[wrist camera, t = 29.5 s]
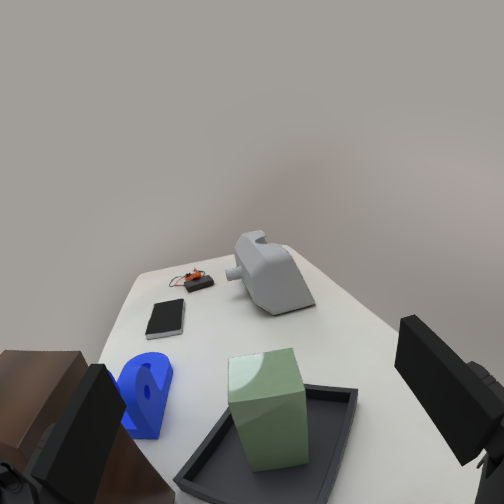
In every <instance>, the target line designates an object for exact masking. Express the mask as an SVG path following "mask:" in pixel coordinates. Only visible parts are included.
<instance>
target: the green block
mask: <svg viewBox="0 0 504 504" xmlns="http://www.w3.org/2000/svg"><path fill="white" fill-rule="evenodd" d="M228 405H229V408H230V411H231V414H232V417H233V420H234V423H235V426H236V429H237V432H238V435H239V438H240V441H241V443H242V446H243V449H244V452H245V455H246V457H247V460H248V463H249V465H250V468H251V471H252V472H258V471H266V470H273V469H280V468H286V467H291V466H297V465H302V464H307V463H309V448H308V427H307V409H306V394H305V388H304V384H303V381H302V378H301V375H300V371H299V368H298V365H297V362H296V358H295V355H294V352H293V349H292V348H288V349H282V350H277V351H271V352H265V353H259V354H253V355H246V356H239V357H232V358H229V359H228Z"/></svg>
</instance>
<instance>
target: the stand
mask: <svg viewBox="0 0 504 504" xmlns="http://www.w3.org/2000/svg"><path fill="white" fill-rule="evenodd" d="M88 368H89V367H88V365H87V363H86V361H85V359H84V357H83V355H82V353H81V351H18V350H17V351H16V350H5V351H3V352H2V354H1V355H0V460H7V461H9V462H10V463H11V464H12V465H13V466H14V467H15V468H16V469H17V470H18V471H19V472H20V473H21V474H22V473H23V471H24V469H25V467H26V465H27V463H28V461H29V459H30V457H31V456H32V454H33V452H34V450H35V448H37V447H36V446H37V444H38V442H39V441H40V439H41V437H42V435H43V433H44V431H45V430H46V429H47V428H48V427H49V426H50V425H51V424H52V423H54V424H56V422H57V421H58V419H59V417H60V415H61V413H62V412H63V410H64V408H65V406H66V405H67V403H68V401H69V399H70V398H71V396H72V394H73V393H74V391H75V389H76V388H77V386H78V384H79V383H80V381H81V379H82V378H83V376H84V374H85V373H86V371H87V369H88ZM174 496H175V492H174V491H173V490H172V489H171V488H170V486H169V485H168V484H167V483H166V482H165V481H164V479H163V478H162V477H161V476H160V475H159V473H158V472H157V471H156V470H155V469H154V467H153V466H152V465H151V464H150V462H149V461H148V460H147V458H146V457H145V456H144V454H143V453H142V452H141V450H140V449H139V448H138V446H137V445H136V444H135V442H134V441H133V439H132V438H131V437H130V435H129V434H128V432H127V431H126V429H125V428H124V426H123V425H122V423H120V426H119V429H118V431H117V434H116V437H115V440H114V443H113V446H112V448H111V451H110V454H109V457H108V460H107V463H106V466H105V469H104V472H103V475H102V479H101V482H100V485H99V488H98V491H97V495H96V498H95V501H94V504H174Z"/></svg>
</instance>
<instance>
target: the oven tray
mask: <svg viewBox="0 0 504 504" xmlns="http://www.w3.org/2000/svg"><path fill="white" fill-rule="evenodd" d="M304 388H305V394H306V409H307V427H308V448H309V463H307V464H302V465H297V466H291V467H286V468H280V469H273V470H266V471H258V472H252V471H251V468H250V465H249V463H248V460H247V457H246V455H245V452H244V449H243V446H242V443H241V441H240V438H239V435H238V432H237V429H236V426H235V423H234V420H233V417H232V414H231V411H230V408H229V407H228V408H227V410H226V411H225V412H224V414H223V415H222V417H221V418H220V419H219V421H218V422H217V423H216V425H215V426H214V427H213V429H212V430H211V431H210V433H209V434H208V435H207V437H206V438H205V439H204V441H203V442H202V443H201V445H200V446H199V447H198V449H197V450H196V451H195V453H194V454H193V455H192V456H191V458H190V459H189V460H188V461H187V463H186V464H185V465H184V466H183V468H182V469H181V470H180V471H179V473H178V474H177V475H176V476H175V478H174V479H173V481H174V482H175V483H176V485H177V486H178V487H179V488H180V489H181V490H182V491H184V492H186V493H189V494H191V495H193V496H195V497H197V498H200V499H202V500H204V501H207V502H209V503H212V504H327V501H328V498H329V496H330V493H331V490H332V487H333V484H334V482H335V479H336V476H337V473H338V470H339V466H340V463H341V460H342V457H343V454H344V450H345V447H346V443H347V440H348V436H349V432H350V428H351V425H352V421H353V417H354V413H355V408H356V404H357V397H358V389H352V388H340V387H329V386H319V385H310V384H304Z"/></svg>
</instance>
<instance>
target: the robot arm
mask: <svg viewBox="0 0 504 504" xmlns="http://www.w3.org/2000/svg"><path fill="white" fill-rule="evenodd" d="M394 367H395V368H396V369H397V371H398V372H399V374H400V375H401V376H402V378H403V379H404V381H405V382H406V383H407V385H408V386H409V388H410V389H411V390H412V392H413V393H414V395H415V396H416V398H417V399H418V400H419V402H420V403H421V405H422V406H423V408H424V409H425V411H426V412H427V414H428V415H429V417H430V418H431V420H432V421H433V423H434V424H435V425H436V427H437V428H438V430H439V432H440V433H441V435H442V436H443V438H444V439H445V441H446V442H447V444H448V445H449V447H450V448H451V450H452V452H453V453H454V455H455V456H456V458H457V459H458V461H459V463H460V464H461V466H464V465H466V464H467V463H469V462H470V461H472V460H473V459H475V458H476V457H478V455H479V454H480V453H481V451H482V450H483V448H484V449H485V450H486V452H487V453H486V454H485V456H484V457H483V458H482V459H481V461H480V462H479V463H478V465H477V468H478V469H479V468H480V466H481V465H482V464H483V468H482V474H481V479H480V483H479V488H478V492H477V496H476V500H475V504H504V387H503V386H502V385H501V384H500V383H499V382H498V381H497V382H496V379H495V378H494V377H493V376H492V375H490V373H489V372H488V371H487V370H486V369H485V368H484V367H483V366H481V365H479V364H477V363H475V362H473V361H471V362H469V363H467V364H466V363H465V362H464V361H463V360H462V359H460V357H459V356H458V355H457V354H456V353H455V352H454V351H453V350H452V349H451V348H450V347H449V346H448V345H446V343H445V342H443V341H442V340H441V339H440V338H439V337H438V336H437V335H436V334H435V333H434V332H433V331H432V330H431V329H430V328H429V327H428V326H427V325H426V324H425V323H424V322H422V321H421V320H420V319H419V318H418V317H417V316H416V315H415V314H414V315H411V316H408V317H404V318H401V321H400V331H399V338H398V345H397V352H396V359H395V365H394ZM126 407H127V406H126V404H125V402H124V400H123V399H122V397H121V395H120V393H119V391H118V390H117V388H116V386H115V384H114V382H113V380H112V378H111V376H110V374H109V372H108V370H107V368H106V366H105V364H91V365H90V366H89V368H88V369H87V371H86V373H85V374H84V376H83V378H82V379H81V381H80V383H79V384H78V386H77V388H76V389H75V391H74V393H73V394H72V396H71V398H70V399H69V401H68V403H67V405H66V406H65V408H64V410H63V412H62V413H61V415H60V417H59V419H58V421H57V422H56V424H54V423H52V424H51V425H50V426H49V427H48V428H47V429H46V430H45V431H44V433H43V435H42V437H41V439H40V441H39V442H38V444H37V446H36V447H37V448H35V450H34V452H33V454H32V456H31V457H30V459H29V461H28V463H27V465H26V467H25V469H24V471H23V473H22V474H21V473H20V472H19V471H18V470H17V469H16V468H15V467H14V466H13V465H12V464H11V463H10V462H9V461H7V460H0V504H94V501H95V498H96V495H97V491H98V488H99V485H100V482H101V479H102V475H103V472H104V469H105V466H106V463H107V460H108V457H109V454H110V451H111V448H112V446H113V443H114V440H115V437H116V434H117V431H118V429H119V426H120V423H121V420H122V418H123V415H124V412H125V410H126Z"/></svg>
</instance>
